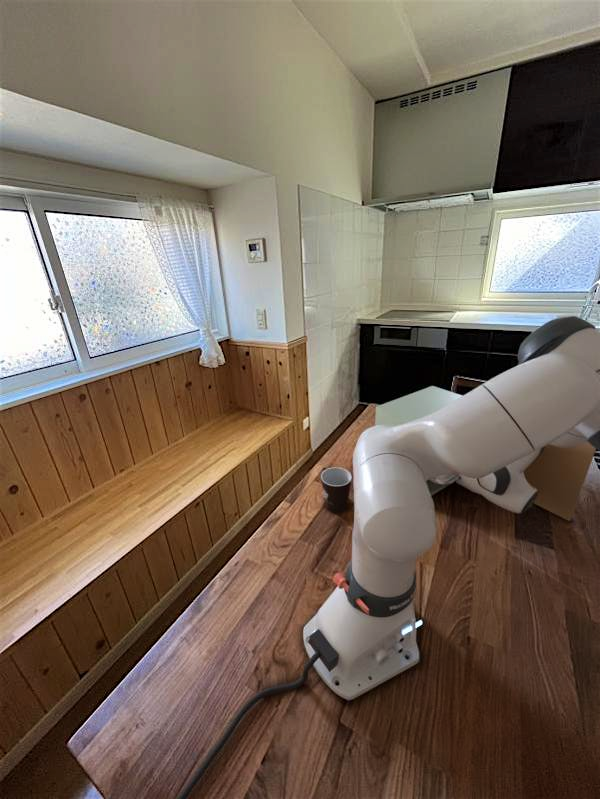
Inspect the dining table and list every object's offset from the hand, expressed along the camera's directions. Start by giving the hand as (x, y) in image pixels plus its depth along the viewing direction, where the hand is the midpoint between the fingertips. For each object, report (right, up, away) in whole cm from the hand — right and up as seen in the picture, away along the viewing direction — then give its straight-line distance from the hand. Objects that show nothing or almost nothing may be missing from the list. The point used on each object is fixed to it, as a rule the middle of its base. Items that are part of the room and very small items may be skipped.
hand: (428, 451), depth 105 cm
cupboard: (0, -8, +4) cm, 9 cm away
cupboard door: (+26, -11, -6) cm, 28 cm away
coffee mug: (-30, -14, -6) cm, 33 cm away
